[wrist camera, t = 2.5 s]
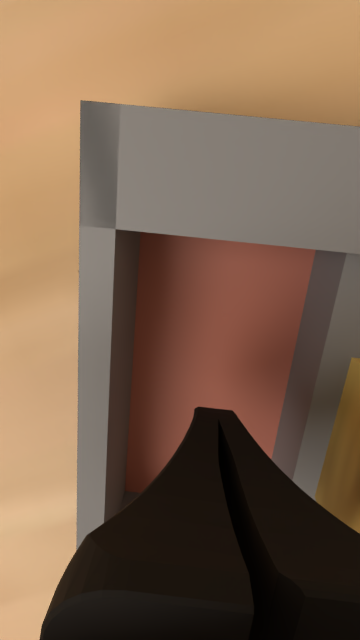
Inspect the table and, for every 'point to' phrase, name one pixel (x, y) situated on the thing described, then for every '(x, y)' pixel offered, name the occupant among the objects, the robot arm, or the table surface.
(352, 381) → the block
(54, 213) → the table surface
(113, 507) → the trap track
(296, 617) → the robot arm
